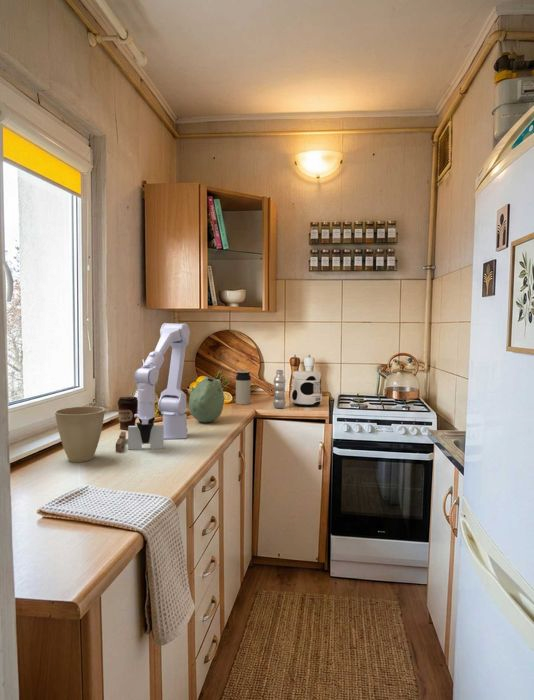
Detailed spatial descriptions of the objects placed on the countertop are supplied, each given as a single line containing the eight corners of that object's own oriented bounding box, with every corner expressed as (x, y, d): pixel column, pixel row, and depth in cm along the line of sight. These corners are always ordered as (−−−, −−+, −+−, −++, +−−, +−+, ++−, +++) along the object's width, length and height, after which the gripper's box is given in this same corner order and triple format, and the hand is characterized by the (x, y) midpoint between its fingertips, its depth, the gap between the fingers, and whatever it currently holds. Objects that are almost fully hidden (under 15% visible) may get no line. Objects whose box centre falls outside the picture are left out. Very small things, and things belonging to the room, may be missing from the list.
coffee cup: (132, 431, 191) (132, 399, 190) (113, 430, 193) (113, 398, 192) (142, 426, 200) (142, 396, 199) (123, 425, 201) (123, 395, 201)
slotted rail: (125, 439, 179) (125, 431, 179) (120, 452, 161) (120, 443, 161) (121, 439, 179) (121, 431, 178) (115, 452, 161) (115, 443, 161)
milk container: (291, 401, 270) (292, 370, 269) (322, 403, 267) (323, 371, 266) (288, 407, 253) (289, 373, 251) (321, 408, 250) (322, 374, 249)
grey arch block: (163, 447, 169) (163, 425, 168) (163, 448, 167) (163, 426, 167) (128, 448, 166) (128, 425, 166) (128, 449, 165) (128, 426, 164)
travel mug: (238, 405, 255) (239, 371, 254) (233, 402, 262) (234, 370, 261) (252, 404, 258) (252, 371, 257) (247, 402, 265) (247, 370, 264)
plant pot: (108, 451, 162) (108, 405, 161) (100, 465, 147) (100, 414, 146) (61, 453, 159) (61, 406, 158) (49, 466, 145) (49, 415, 144)
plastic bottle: (286, 407, 251) (287, 370, 250) (283, 409, 245) (283, 371, 243) (275, 406, 253) (276, 369, 252) (271, 408, 247) (271, 370, 245)
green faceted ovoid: (182, 425, 204) (182, 379, 202) (196, 416, 222) (196, 374, 221) (217, 427, 201) (218, 380, 200) (228, 418, 220) (229, 375, 218)
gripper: (135, 398, 172) (135, 435, 173) (132, 405, 158) (132, 446, 159) (155, 398, 173) (155, 435, 174) (154, 405, 159) (154, 445, 160)
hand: (146, 440), depth 167 cm, fingers open, 6 cm apart
